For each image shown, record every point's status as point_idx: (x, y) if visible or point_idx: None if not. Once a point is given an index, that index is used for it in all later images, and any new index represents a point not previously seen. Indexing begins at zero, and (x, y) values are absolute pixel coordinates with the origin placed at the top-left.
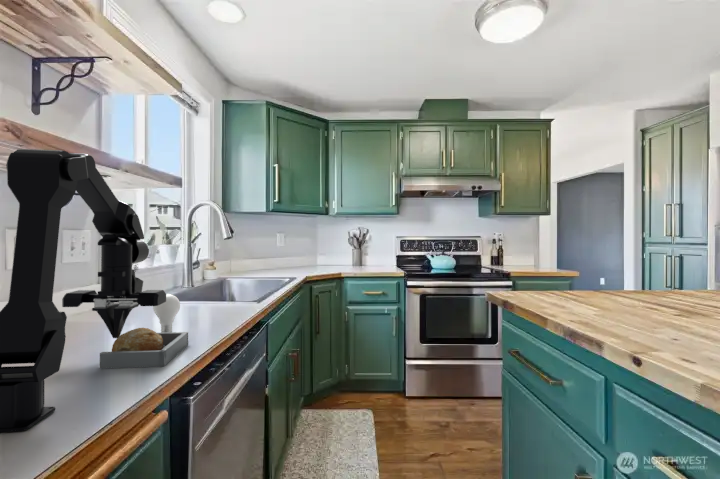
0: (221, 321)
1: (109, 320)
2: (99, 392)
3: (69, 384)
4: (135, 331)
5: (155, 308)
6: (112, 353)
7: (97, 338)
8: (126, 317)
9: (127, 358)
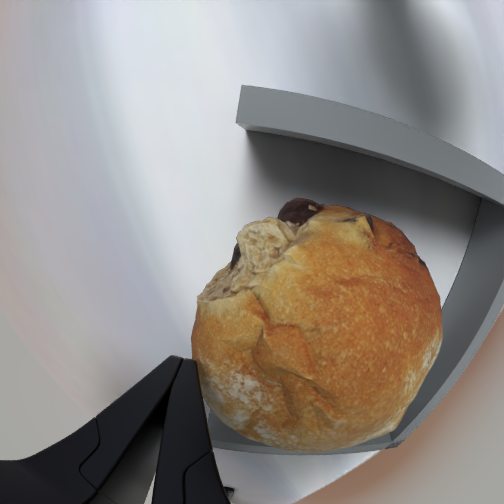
0: None
1: (143, 497)
2: (269, 474)
3: None
4: (316, 452)
5: None
6: (246, 450)
7: None
8: (222, 493)
9: None
